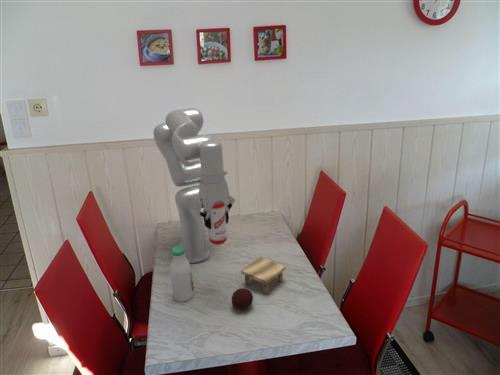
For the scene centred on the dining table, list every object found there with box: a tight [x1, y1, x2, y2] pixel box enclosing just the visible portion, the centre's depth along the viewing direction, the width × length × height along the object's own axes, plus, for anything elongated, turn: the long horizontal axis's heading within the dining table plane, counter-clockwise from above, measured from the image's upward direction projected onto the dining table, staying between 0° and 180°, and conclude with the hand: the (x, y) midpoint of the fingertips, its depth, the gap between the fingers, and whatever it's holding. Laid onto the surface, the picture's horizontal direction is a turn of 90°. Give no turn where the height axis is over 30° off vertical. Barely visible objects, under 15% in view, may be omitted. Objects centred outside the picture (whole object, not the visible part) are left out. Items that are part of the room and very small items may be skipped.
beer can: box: [208, 202, 228, 246], centre depth 144 cm, size 6×6×16 cm
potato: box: [231, 287, 254, 310], centre depth 144 cm, size 7×8×7 cm
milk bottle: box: [169, 245, 195, 303], centre depth 149 cm, size 8×8×20 cm
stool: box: [240, 256, 286, 295], centre depth 156 cm, size 12×12×6 cm
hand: (216, 224), depth 144 cm, fingers closed on beer can, 6 cm apart
